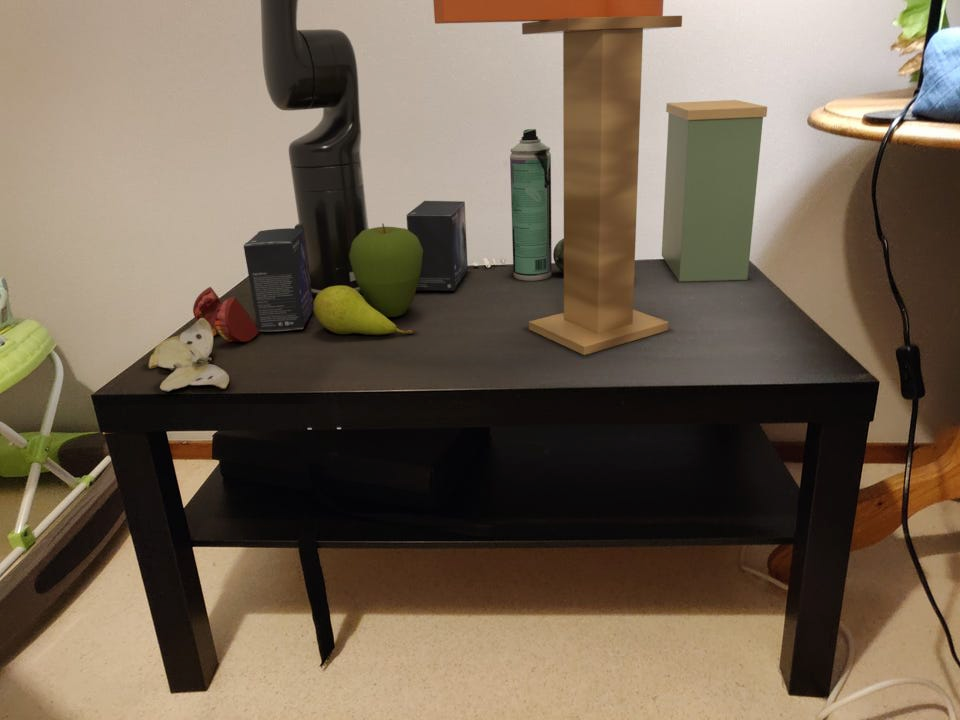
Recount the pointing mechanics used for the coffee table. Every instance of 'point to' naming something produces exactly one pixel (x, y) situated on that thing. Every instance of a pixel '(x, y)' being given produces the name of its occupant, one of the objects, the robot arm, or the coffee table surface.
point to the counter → (711, 188)
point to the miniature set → (488, 262)
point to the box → (279, 279)
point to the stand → (600, 180)
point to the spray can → (531, 208)
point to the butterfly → (191, 359)
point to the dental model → (224, 317)
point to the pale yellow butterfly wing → (153, 358)
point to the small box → (440, 243)
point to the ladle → (539, 10)
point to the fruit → (350, 313)
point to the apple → (387, 268)
